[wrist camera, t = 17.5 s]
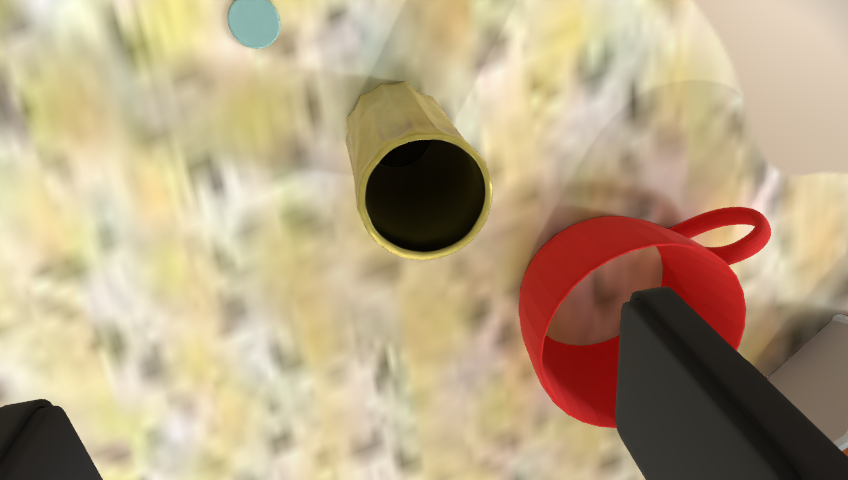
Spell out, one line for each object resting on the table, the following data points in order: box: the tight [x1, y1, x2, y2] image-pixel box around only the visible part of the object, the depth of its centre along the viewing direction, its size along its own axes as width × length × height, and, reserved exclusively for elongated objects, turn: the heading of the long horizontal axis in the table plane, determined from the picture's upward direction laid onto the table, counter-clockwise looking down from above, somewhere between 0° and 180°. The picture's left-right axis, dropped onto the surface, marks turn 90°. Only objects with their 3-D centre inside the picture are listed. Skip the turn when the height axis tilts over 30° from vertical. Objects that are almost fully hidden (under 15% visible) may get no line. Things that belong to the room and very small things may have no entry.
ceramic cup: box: [519, 207, 771, 428], centre depth 37 cm, size 13×17×10 cm
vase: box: [346, 82, 493, 260], centre depth 27 cm, size 6×6×14 cm
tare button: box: [228, 0, 280, 49], centre depth 29 cm, size 3×3×1 cm
